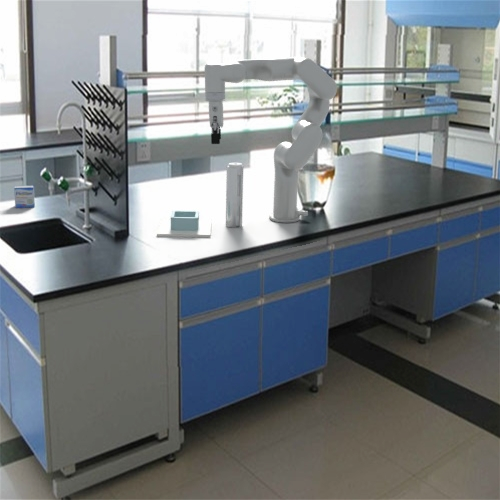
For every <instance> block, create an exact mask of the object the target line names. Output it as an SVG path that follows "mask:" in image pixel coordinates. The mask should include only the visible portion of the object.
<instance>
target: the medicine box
mask: <svg viewBox="0 0 500 500" xmlns="http://www.w3.org/2000/svg"><path fill="white" fill-rule="evenodd" d="M13 191H14V192H13V193H14V194H13V195H14V207H15V209H25V208H26V209H27V208H28V209H29V208H35V207H36V205H35V203H36V202H35V201H36V199H35V187H34V185H14V186H13Z"/></svg>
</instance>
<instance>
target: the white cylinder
mask: <svg viewBox="0 0 500 500" xmlns="http://www.w3.org/2000/svg"><path fill="white" fill-rule="evenodd" d="M225 181H226V184H225V186H226V187H225V189H226V191H225V192H226V193H225V226H226V227H227V228H230V229H239V228H241V227H243V208H244V207H243V203H244V202H243V199H244V165H243V163H241V162H229V163H228V164H227V165H226V179H225Z"/></svg>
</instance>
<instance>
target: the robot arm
mask: <svg viewBox="0 0 500 500" xmlns="http://www.w3.org/2000/svg"><path fill="white" fill-rule="evenodd" d="M244 80H257V81H263V82H278V81H279V82H280V81H291V80H293V81H295V80H300V81H302V82H303V83H304V84H305V85H306V87H307V92H308V94H309V95H308V96H309V97H308V98H309V100H308V104H307V107H306V108H305V110H304V111H303V113H302V114H301V116H300V117H299V118H298V119H297V121H296V123H295V124H294V125H293V126H292V129H291V137H292V139H293V140H294V141H292V142H291V141H283V142H280V143H279V144H278V145H277V146H276V147H275V149H274V152H273V164H274V183H273V184H274V185H273V186H274V187H273V208H272V209H273V210H272V211H273V212H272V213H270V214H269V216H268V217H269V220H271V221H273V222H277V223H281V224H282V223H283V224H287V223H289V224H290V223H292V224H293V223H297V222H299V221H300V220H301V216H305V217H306V216H307V217H308V215H309V211H308V210H304V209H298V207H297V205H298V186H299V170H301V169H302V168H304V167H305V166H306V165H307V163H309V160H310V159H311V158H312V156H313V155H314V153H315V152H316V151H317V149H318V148H319V146H320V144H321V143H322V141H323V130H322V128H321V125H322V124H323V123H324V121H325V120H326V118H327V116H328V115H329V114H328V113H329V111H330V105H331V104H330V102H331V101H330V100H332V99H333V98H335V96H336V95H337V93H338V86H337V85H338V84H337V83H336V81H335V80H334V79H333V78H332V76H330V75H329V74H328V73H327V72H326V71H324V69H323V68H321V67H320V66H319V64H317V63H316V62H315V61H314V60H312V59H311V58H308V57H304V56H291V57H290V56H288V57H275V58H259V59H257V58H256V59H237V60H236V59H235V60H227V61H225V62H224V63H221V62H208V63H206V64H205V65H204V98H205V99H204V100H205V101H206V102H208V118H209V127H210V128H211V133H210V137H211V138H210V140H211V142H210V143H211V145H220V143H221V139H222V132H221V131H222V130H221V128H223V127H224V104H223V103H224V102H225V101H226V83H231V84H239V83H241V82H242V83H243V81H244Z"/></svg>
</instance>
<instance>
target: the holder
mask: <svg viewBox="0 0 500 500" xmlns="http://www.w3.org/2000/svg"><path fill="white" fill-rule="evenodd" d="M170 214H171V215H170V219H166V218H164V219H163V218H162V219H160V222H159V225H158V229H157V232H156V237H158V238H159V237H161V238H163V237H165V238H168V237H169V238H175V237H179V238H211V232H212V219H200V211H196V210H172V211H171V213H170Z"/></svg>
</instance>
